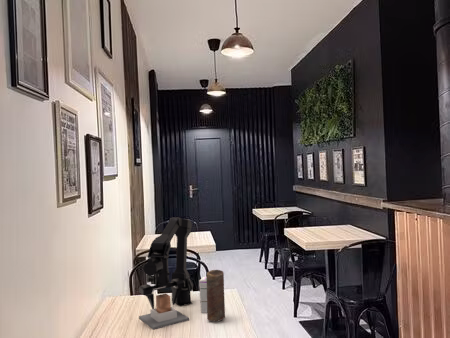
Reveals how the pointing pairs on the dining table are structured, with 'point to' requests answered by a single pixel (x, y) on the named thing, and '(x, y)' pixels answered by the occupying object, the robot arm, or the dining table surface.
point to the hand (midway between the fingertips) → (163, 306)
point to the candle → (215, 295)
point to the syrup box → (203, 294)
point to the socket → (163, 318)
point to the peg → (163, 303)
